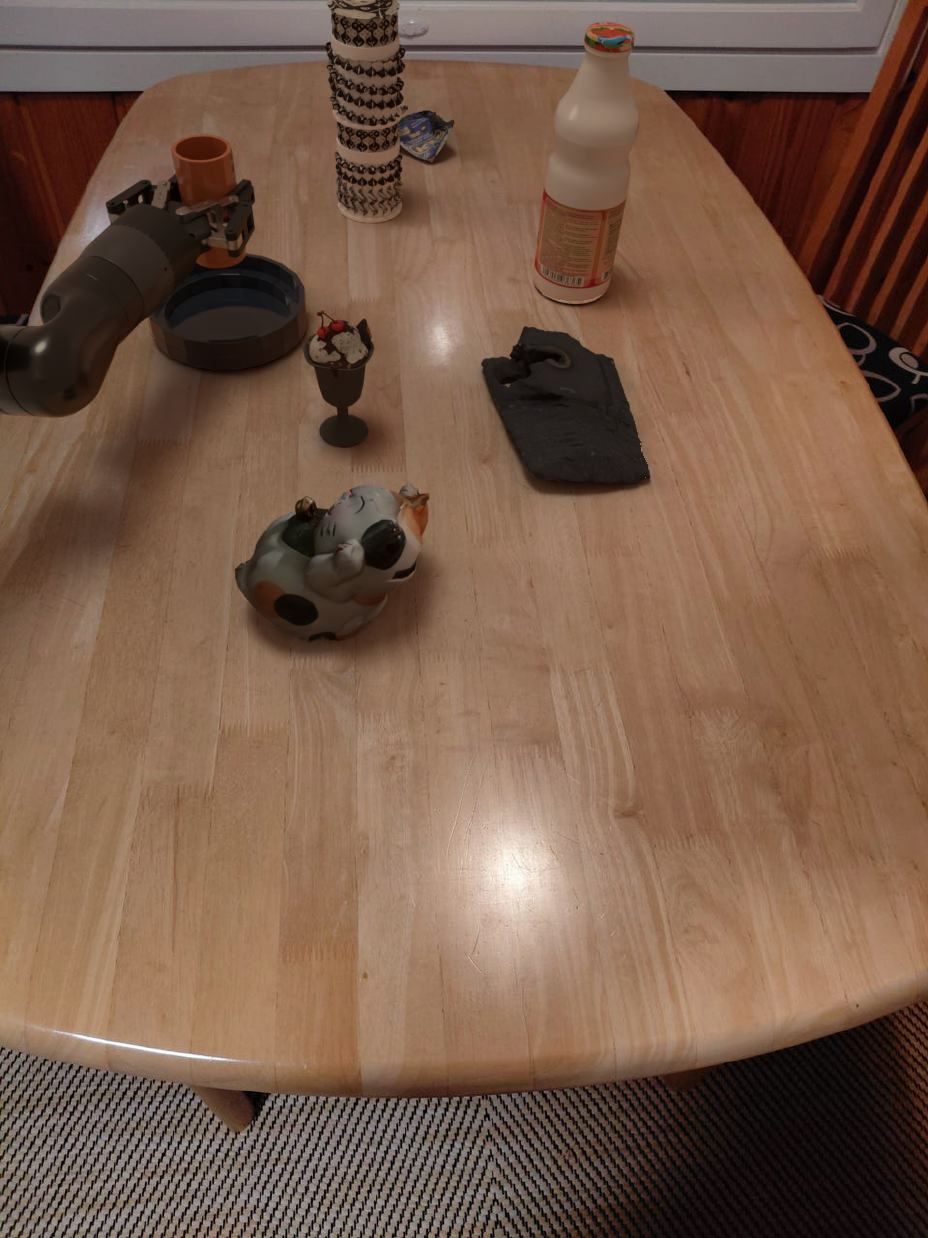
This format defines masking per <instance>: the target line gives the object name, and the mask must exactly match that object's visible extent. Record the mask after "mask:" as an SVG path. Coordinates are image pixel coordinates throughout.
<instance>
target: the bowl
mask: <svg viewBox="0 0 928 1238" xmlns="http://www.w3.org/2000/svg"><path fill="white" fill-rule="evenodd" d="M306 298H307V297H306V288H305V286H304V283H303V282H302V280H301V279H300V277H299V275H298V274H297V273H296V272H294V271H293V270H292V269H291V268H289V267H288V266H287V265H285V264H284V263H282V262H280V261H277V260H274V259H272V258H271V257H270V258H269V257H267V256H264V255H259V254H253V253H247V252H246V255H245V258H244V259H243V260H242V261H241V262H240V263H238V264H236V265H234V266H231V267H226V268H208V267H204V266H201V265H199V264H197V263H195V266H194V268H193V270H192V272H191V274H190V275H189V276H188V277H187V278H186V279H185V280H184V281H183V283H182V284H181V285H180V286H179V287H178V288H177V289H176V290H175V291H174V292H173V293H172V294H171V295H170V296H169V297H168V298H167V300H166V301H165V302H164V303H163V304H162V305H161V306H160V307H159V308H158V309H157V310H156V311H155V312H154V313H153V314H152V315H150V316H149V317H148V318H146V320H147V324H148V328H149V332H150V335H151V336H152V339H153V341H154V344H155V345H156V346H157V347H158V348H159V349H160V350H161V351H162V352H163V353H164V354H165V355H166V356H167V357H169V358H171V359H173V360H176V361H178V362H181V363H183V364H184V365H186V366H190V367H194V368H195V367H196V368H201V369H207V370H213V371H224V370H225V371H226V370H227V371H228V370H230V371H231V370H242V369H248V368H252V367H256V366H260V365H264V364H267V363H269V362H271V361H273V360H275V359H277V358H280V357H283V356H285V355H286V354H287V353H288V352H290V351H291V350H292V349H293V348H294V347H295V346H296V345H298V344H299V343H300V341H301V340H302V338H303V336H304V334H305V333H306V331H307V328H308V310H307V309H308V308H307V299H306Z"/></svg>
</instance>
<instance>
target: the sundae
mask: <svg viewBox="0 0 928 1238" xmlns="http://www.w3.org/2000/svg"><path fill="white" fill-rule="evenodd" d="M316 315H317V317H321V324H320V327H318V329H317V331H316V333H314V334H312V335H309V337H307V338H305V341H304V342H303V346H302V352H303V356H304V359H305V360H306V362H307V364H308V365H310V366H312V367H313V369H314V373H315V376H316V377H315V378H316V380H317V386H318V389H319V392H320V393H321V397H322V399H323V400H324V401H325V402H326V403H327V404H329V405H330V406H332V407H335V408H336V414H334V415H332V416H329V417H327V418H326V419H325V420H323V422H322V423H321V424H320V427H319V436H320V437H321V438H322V440H323V441H324V442H325V443H327V444H329V445H332V446H334V447H341V448H345V447H346V448H347V447H352V446H356V445H358V444H360V443H361V442H363V441H364V440H365V439H366V438H367V436H368V434H369V427H368V425H367V422H365V420H364V419H363V418H361V417H359V416H357V415H354V414H349V407H352V406H354V405H355V404H356V403H357V402H358V401H359V400H360V399H361V396H362V392H363V388H364V384H365V375H366V367H367V364H368V363H369V361H370V360H371V359H372V357H373V354H374V351H375V345H374V342H373V341H372V338H373V337H372V331H371V328H370V327H369V324H368V321H367V319H366V318H362V319H361V320H360V321H359V322H358V323H357V324H356V325H354V324H353V323H351V322H350V321H348V320H346V319H340V318H339V319H334V318H332V317H331V316H329V315H328V314H327V313H325V311H324V310H323V309H322V310H321V311H318V312H316ZM323 315H325V316H326V317H327V318H328V319H330V322H329V323H328V324H327V325H324V323H325V320H324V316H323Z"/></svg>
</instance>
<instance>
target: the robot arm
mask: <svg viewBox="0 0 928 1238" xmlns="http://www.w3.org/2000/svg"><path fill="white" fill-rule="evenodd" d="M255 195H256V194H255V187H254V185H253V184H252V181H251V180H250V179H245V178H243V179H241V180H240V181H239V182H238V183H237V185H236V186H235V188H234V189H232V190H231V192H230V193H229V194H228V196H226V197H224V198H222V199H219V200H217V201H214V200H213V199H211V198H209V199H206V200H204V201H202V202H199V203H197V204H195V205H184V204H182V203H181V199H180V194H179V188H178V183H177V178H176V173H175V172H174V174H173V175H171V176H170V177H169V178H168V179H167V180H166V179H165V180H164V179H163V180H160V181H158V182H157V184H152V181H151V180H150V179H141V180H139V181H137V182H136V183H134V184H132V185H131V186H128V187H127V188H126V189H124V190H123V191H122V192H120V193H119V194H116V195H115V196H113V197H112V198H111V199H109V200H107V201H106V202H105V207H106V211H107V216H108V219H109V223H110V224H109V225H108V226H106V228H104V229H103V230H102V231H101V232H100V233H99V234H98V235H96V237H94V239H92V240H91V241H90V242H89V244H88V245H87V246H86V247H85V248H84V249H83V251H82V252H81V253H80V255H79V256H78V257H77V258H76V259H75V260H74V261H73V262H72V263H71V264H70V265H69V266H68V267H67V268H66V269H65V270H63V271H62V272H61V273H60V274H59V275H57V277H55V279H54V280H52V282H51V283H49V285H48V286H47V287H46V288H45V290H44V292H43V293H42V295H41V297H40V301H39V316H40V319H41V320H40V321H41V322H42V325H5V324H2V323H0V415H3V416H15V417H18V416H19V417H32V418H33V417H35V418H49V419H51V418H53V419H59V418H66V417H70V416H72V415H75V414H77V413H78V412H80V411H82V410H84V409H85V408H86V407H87V406H89V405H90V404H91V403H92V402H93V401H94V400H95V399H96V397H97V396H98V394H99V392H100V391H101V388H102V386H103V384H104V382H105V379H106V377H107V375H108V373H109V369H110V367H111V365H112V363H113V361H114V359H115V355H116V354H117V353H116V352H117V350H118V347H119V346H120V345H121V344H122V343H123V342H125V340H126V339H127V338H128V337H129V335H131V334H132V332H133V331H134V330H136V328H137V327H138V326H139V325H140V324H141V323H142V322H143V321H145V320H147V318H148V317H149V316H150V315H152V314H153V313H154V312H155V311H156V310H157V309H158V308H159V307H160V306H161V305H162V304H163V303H164V302H165V301H166V300H167V298H168V297H169V296H170V295H171V294H172V293H173V292H174V291H175V290H176V289H177V288H178V287H179V286H180V285H181V284H182V283H183V281H184V280H185V279H186V278H187V277H188V276H189V275H190V274H191V272H192V270H193V268H194V266H195V263H196V261H197V259H198V257H199V256H200V255H201V254H203V253H206V252H208V251H210V250H211V249H212V247H217V248H225V249H227V251H228V256H229V257H232V258H236V257H239V256H240V255H241V253H242V252H243V250H244V248H245V246H246V247H247V244H248V243H249V241H250V239H251V237H252V235H253V233H254V232H255V230H256V225H255V217H254V209H253V205H254V204H255V203H256V196H255ZM140 197H141V200H142V201H140V200H139V198H140ZM226 209H227V212H228V216H227V217H225V218H223V217H222V212H223V211H224V210H226ZM206 213H208V214H209V220H210V224H209V221H208V217H207V215H206Z"/></svg>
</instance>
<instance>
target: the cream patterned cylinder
mask: <svg viewBox="0 0 928 1238" xmlns="http://www.w3.org/2000/svg"><path fill="white" fill-rule="evenodd" d="M326 5H327V7H328V9H329V10H330V12H331V15H330V22H331V31H330V35H329V36H330V41H327V42H326V43H325V44H324V49H325V51H326V56H327V57H328V63H327V64H326V69H327V70H328V71H329V76H328V78H327V81H328V83H329V89H330V90H331V95H330V97H329V100H330V102H331V103H332V104H331V106H332V116H333V118H334V120H335V121H336V128H337V135H336V138H335V140H336V141H335V143H336V151H335V152H334V157H335V162H336V163H335V165H334V166H335V169H336V175H337V176H336V178H335V184H336V188H337V189H336V196H337V200H338V203H337V208H338V210H339V212H340V214H341V215H343V216H344V217H346V218H347V219H349V220H352V221H355V222H357V223H366V224H376V223H377V224H378V223H384V222H385V223H386V222H387V221H389V220H392V219H395V218H396V217H397V216H399V214H400V213H402V209H403V202H402V197H403V193H402V192H401V191H402V186H403V184H404V182H403V181H402V172H403V167H402V160H403V154H402V151H401V145H400V138H399V136H398V121H400V120H401V118H402V116H403V114H402V110H401V108H400V105H402V104H403V101H404V100H405V98H404V95H403V93H402V92H401V91H403V88H404V86H405V81H404V80H402V78H401V77H400V76H398V75H400V74H402V73H404V70H405V69H406V64H405V63H404V61H403V60H402V59H404V58H405V54H406V52H407V51H406V48H405V47H404V46H403V45H402V44H401V43H400V33H399V29H398V27H399V15H398V13H399V11H400V7H401V4H400V3H399V1H398V0H328V1H327V3H326ZM401 115H402V116H401Z"/></svg>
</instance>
